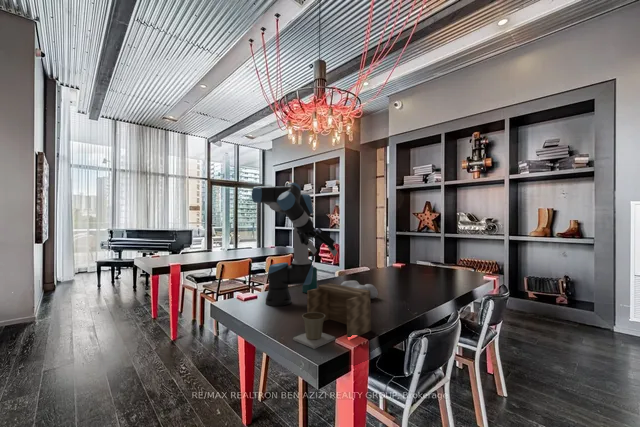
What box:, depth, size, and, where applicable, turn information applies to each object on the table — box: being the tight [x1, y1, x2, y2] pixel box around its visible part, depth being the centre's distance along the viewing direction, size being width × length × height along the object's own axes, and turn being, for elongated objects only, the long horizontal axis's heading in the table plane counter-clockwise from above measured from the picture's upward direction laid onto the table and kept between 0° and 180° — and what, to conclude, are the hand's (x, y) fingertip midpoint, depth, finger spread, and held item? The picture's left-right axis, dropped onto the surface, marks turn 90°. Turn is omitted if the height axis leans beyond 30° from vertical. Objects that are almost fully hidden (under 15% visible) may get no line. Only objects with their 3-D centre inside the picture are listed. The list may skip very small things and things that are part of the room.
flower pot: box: [301, 312, 325, 340], centre depth 115 cm, size 9×9×9 cm
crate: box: [306, 282, 372, 338], centre depth 128 cm, size 15×24×17 cm, turn 46°
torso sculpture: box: [340, 280, 379, 300], centre depth 186 cm, size 16×11×30 cm
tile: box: [292, 331, 336, 350], centre depth 115 cm, size 12×12×1 cm
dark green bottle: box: [301, 259, 318, 294], centre depth 198 cm, size 10×8×22 cm
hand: (325, 253), depth 138 cm, fingers open, 13 cm apart
